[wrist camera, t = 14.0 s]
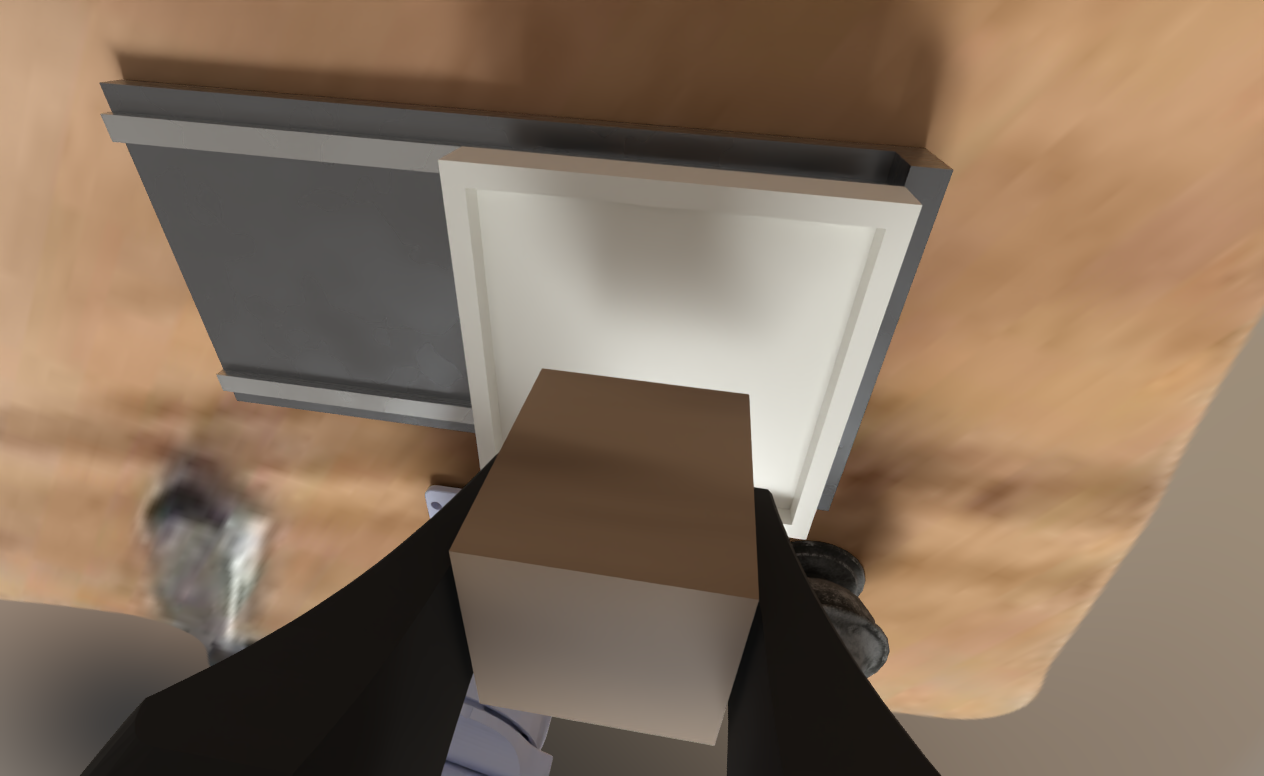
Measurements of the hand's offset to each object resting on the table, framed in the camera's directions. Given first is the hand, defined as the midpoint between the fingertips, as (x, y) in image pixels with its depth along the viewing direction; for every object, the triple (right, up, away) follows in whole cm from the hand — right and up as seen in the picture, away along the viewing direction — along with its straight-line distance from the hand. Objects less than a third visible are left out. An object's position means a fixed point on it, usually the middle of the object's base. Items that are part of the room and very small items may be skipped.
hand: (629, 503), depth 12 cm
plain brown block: (0, +1, +1) cm, 1 cm away
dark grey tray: (-4, +6, +8) cm, 11 cm away
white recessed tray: (+1, +4, +6) cm, 8 cm away
